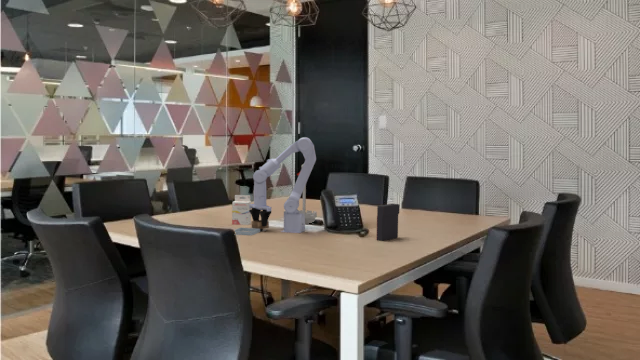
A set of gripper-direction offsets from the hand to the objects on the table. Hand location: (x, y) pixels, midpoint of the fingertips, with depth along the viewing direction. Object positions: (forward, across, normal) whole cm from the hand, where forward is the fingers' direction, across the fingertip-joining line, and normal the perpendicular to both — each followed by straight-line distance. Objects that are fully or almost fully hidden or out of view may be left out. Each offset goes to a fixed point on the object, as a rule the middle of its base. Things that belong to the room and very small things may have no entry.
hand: (260, 225), depth 259 cm
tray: (+3, +2, -9) cm, 10 cm away
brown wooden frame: (+1, 0, 0) cm, 1 cm away
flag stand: (+3, -8, +33) cm, 34 cm away
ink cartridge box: (+3, -21, +4) cm, 21 cm away
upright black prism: (+3, +50, +31) cm, 59 cm away
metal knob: (+3, 0, 0) cm, 3 cm away
